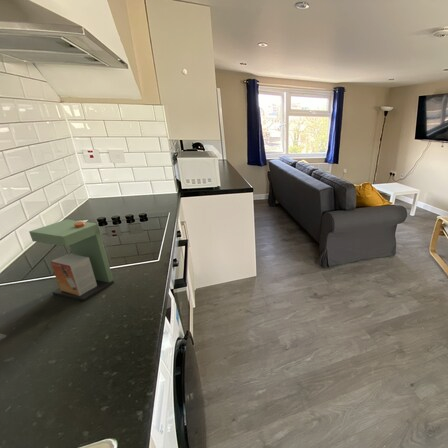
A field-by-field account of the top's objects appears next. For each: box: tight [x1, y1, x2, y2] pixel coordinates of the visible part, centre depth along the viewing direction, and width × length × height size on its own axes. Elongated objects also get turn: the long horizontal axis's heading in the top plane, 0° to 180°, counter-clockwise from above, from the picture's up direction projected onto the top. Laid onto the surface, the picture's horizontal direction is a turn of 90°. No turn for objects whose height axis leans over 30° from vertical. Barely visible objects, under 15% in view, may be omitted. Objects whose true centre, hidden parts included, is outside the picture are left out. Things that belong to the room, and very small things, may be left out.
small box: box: [50, 252, 97, 296], centre depth 79 cm, size 8×6×10 cm
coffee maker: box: [28, 219, 115, 302], centre depth 79 cm, size 12×10×22 cm
